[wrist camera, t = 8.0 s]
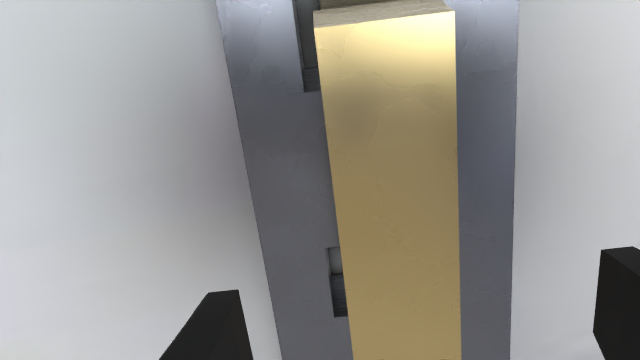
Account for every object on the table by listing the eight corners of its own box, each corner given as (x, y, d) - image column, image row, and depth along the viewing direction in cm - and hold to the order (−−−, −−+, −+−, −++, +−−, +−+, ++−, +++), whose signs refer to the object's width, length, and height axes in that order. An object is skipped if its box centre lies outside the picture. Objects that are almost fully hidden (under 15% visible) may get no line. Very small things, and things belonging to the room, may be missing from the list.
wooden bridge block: (424, 253, 23) (461, 369, 17) (344, 262, 23) (356, 380, 17) (410, -27, 18) (454, 10, 13) (311, -15, 18) (313, 28, 13)
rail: (489, 388, 26) (507, 437, 23) (301, 408, 26) (301, 458, 24) (494, -327, 15) (527, -364, 13) (178, -283, 15) (156, -312, 13)
